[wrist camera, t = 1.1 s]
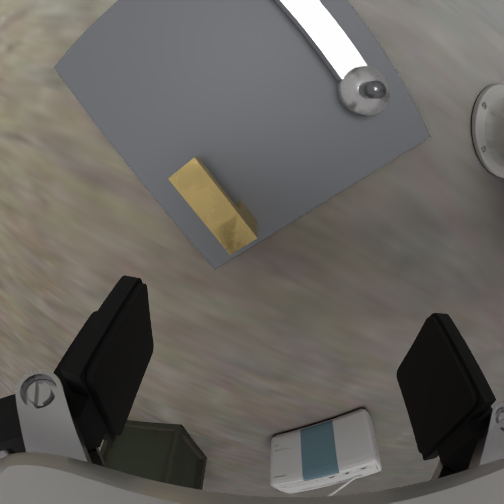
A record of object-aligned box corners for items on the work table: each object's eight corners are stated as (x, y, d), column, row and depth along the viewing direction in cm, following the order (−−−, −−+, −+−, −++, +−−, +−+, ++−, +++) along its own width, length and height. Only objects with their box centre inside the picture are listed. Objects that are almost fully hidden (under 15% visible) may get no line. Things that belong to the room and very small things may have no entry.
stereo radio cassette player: (364, 402, 50) (382, 493, 32) (374, 418, 53) (390, 499, 35) (269, 432, 56) (266, 516, 38) (286, 445, 59) (287, 521, 41)
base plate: (258, -80, 17) (257, -86, 15) (424, 134, 28) (430, 136, 27) (61, 67, 25) (53, 67, 24) (216, 263, 37) (214, 269, 35)
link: (390, 101, 25) (412, 102, 21) (353, 122, 27) (369, 126, 22) (251, -68, 17) (249, -91, 12) (212, -48, 18) (203, -69, 14)
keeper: (203, 150, 29) (194, 157, 25) (258, 221, 32) (257, 238, 29) (179, 168, 30) (168, 178, 26) (234, 237, 33) (230, 255, 30)
